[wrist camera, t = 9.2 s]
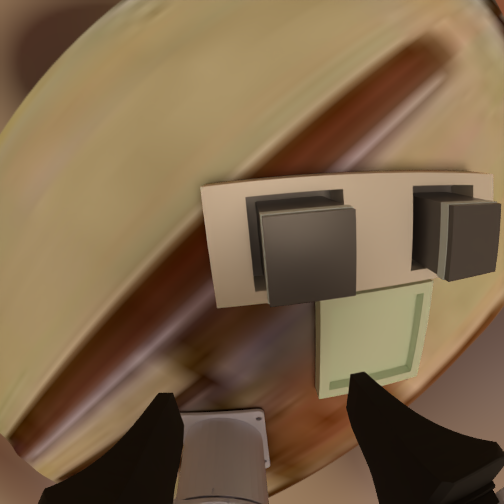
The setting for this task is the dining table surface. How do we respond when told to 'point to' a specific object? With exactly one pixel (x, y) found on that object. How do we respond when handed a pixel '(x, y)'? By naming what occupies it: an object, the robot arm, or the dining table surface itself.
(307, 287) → the twin plug
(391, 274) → the strip
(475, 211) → the plug
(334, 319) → the tray
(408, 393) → the dining table surface
